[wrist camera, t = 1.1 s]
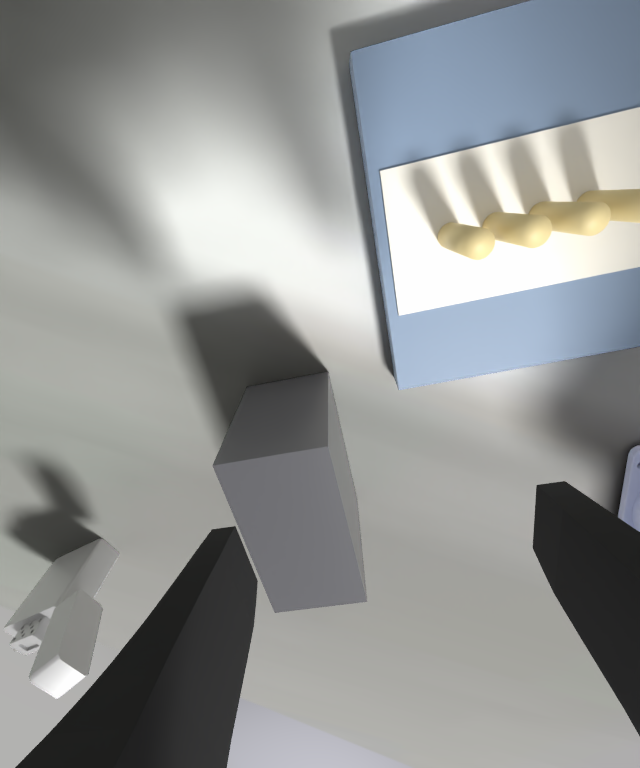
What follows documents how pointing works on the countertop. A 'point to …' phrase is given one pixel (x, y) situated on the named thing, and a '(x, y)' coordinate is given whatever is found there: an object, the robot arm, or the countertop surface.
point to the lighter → (63, 617)
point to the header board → (505, 186)
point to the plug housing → (294, 493)
